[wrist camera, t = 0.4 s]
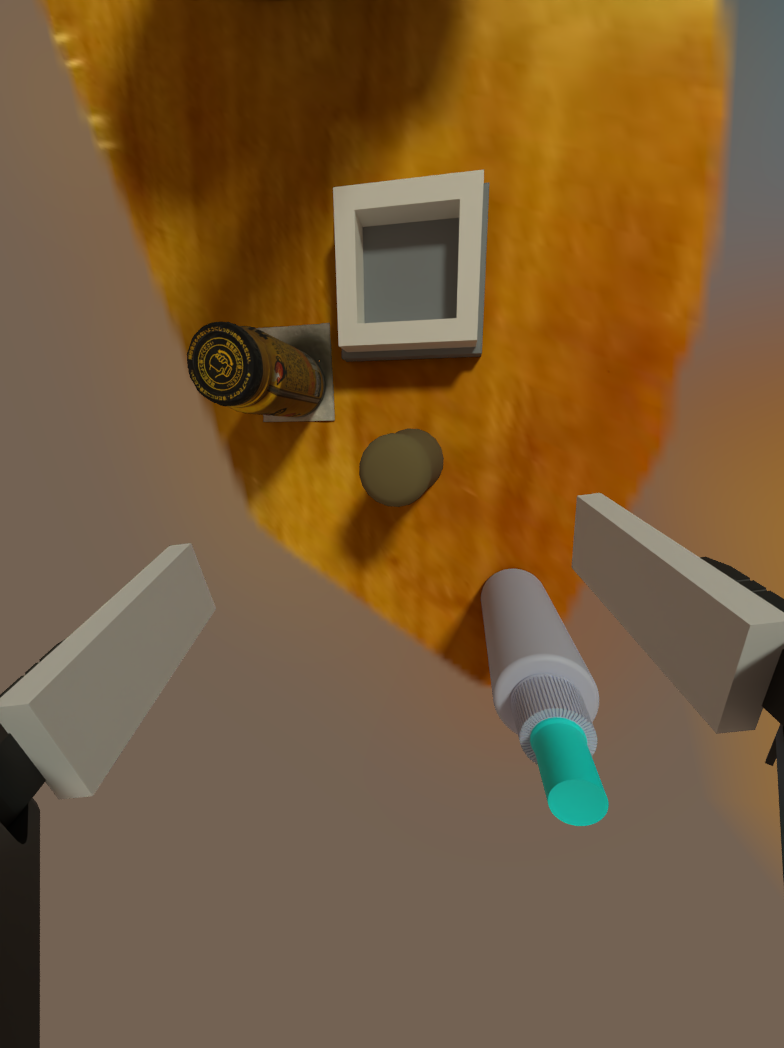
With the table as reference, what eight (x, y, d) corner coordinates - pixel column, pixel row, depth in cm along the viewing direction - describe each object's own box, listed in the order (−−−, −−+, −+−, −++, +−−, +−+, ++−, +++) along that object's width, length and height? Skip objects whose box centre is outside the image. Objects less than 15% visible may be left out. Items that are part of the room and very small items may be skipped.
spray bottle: (470, 609, 39) (483, 820, 18) (495, 557, 37) (542, 721, 16) (527, 633, 38) (610, 879, 17) (555, 581, 37) (684, 782, 16)
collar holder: (342, 209, 33) (326, 180, 29) (487, 194, 31) (491, 160, 27) (346, 361, 35) (332, 353, 32) (480, 356, 33) (483, 346, 30)
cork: (384, 495, 38) (354, 520, 27) (376, 432, 36) (341, 432, 26) (446, 490, 37) (440, 513, 26) (440, 424, 35) (431, 421, 25)
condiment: (264, 422, 38) (179, 417, 27) (256, 328, 36) (161, 280, 25) (335, 420, 37) (278, 415, 25) (331, 323, 35) (267, 270, 23)
